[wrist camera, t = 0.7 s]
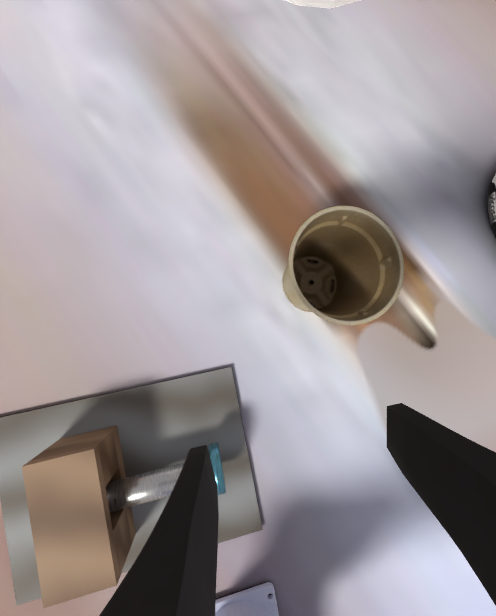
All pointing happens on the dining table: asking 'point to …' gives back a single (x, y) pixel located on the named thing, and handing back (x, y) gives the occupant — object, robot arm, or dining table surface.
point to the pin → (156, 483)
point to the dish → (322, 3)
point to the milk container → (492, 204)
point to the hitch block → (111, 479)
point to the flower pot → (344, 266)
